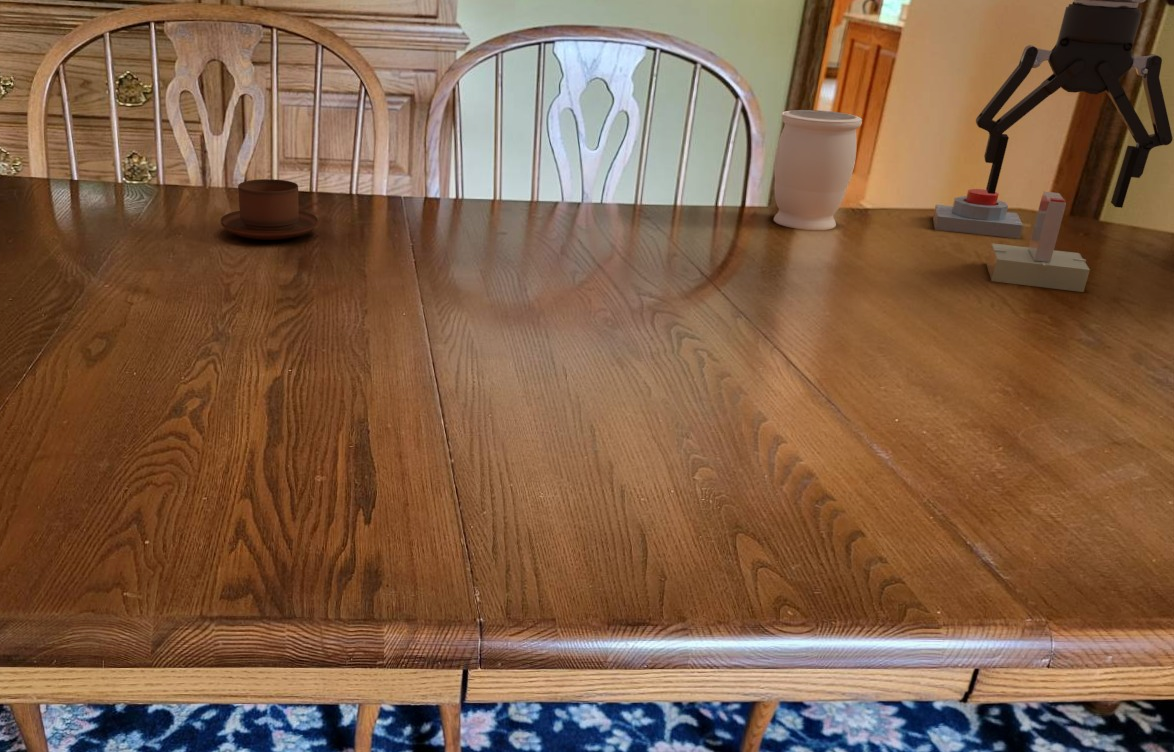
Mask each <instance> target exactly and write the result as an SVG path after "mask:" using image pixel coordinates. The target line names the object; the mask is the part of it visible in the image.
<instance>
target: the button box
mask: <svg viewBox="0 0 1174 752" xmlns="http://www.w3.org/2000/svg"><path fill="white" fill-rule="evenodd" d="M966 197H967V195H966V196H965V195H964V196H963V195H961V196H957V197H954V199H953V203H952V205H943V204H935V206H934V210H933V215H932V221H933V227H934V230H936V231H945V232H953V233H962V234H970V235H971V234H973V235H980V236H982V235H983V236H988V237H989V236H990V237H1001V238H1008V239H1017V240H1020V239H1021V235H1022V232H1023V227H1024V224H1023V222H1022V220H1021V218H1020V216H1019V214H1018V213H1017V212H1011V211H1008V207H1009V205H1008V203H1007V202H1005V201H1003V200H999V199H997V203H996V205H988V206H986V205H977V204H972V203H968V202H966Z"/></svg>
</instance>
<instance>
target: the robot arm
mask: <svg viewBox="0 0 1174 752" xmlns="http://www.w3.org/2000/svg"><path fill="white" fill-rule="evenodd" d="M1144 2H1146V0H1073V2H1071V3H1069V4H1068V6H1066V7H1065V10H1064V14H1063V17H1062V22H1061V25H1060V29H1059V33H1058V37H1057V41H1056V44H1055V45H1054V47H1053V48H1052V49H1051V50H1049V49H1044V48H1038V47H1037V46H1034V45H1032V44H1029V45H1027V46H1026V47H1024V49H1023V51H1022V53H1021V57H1020V60H1019V63H1018V65H1017V66H1016V67H1015V69H1014V70H1013V71H1012V72H1011V74H1010V75H1009V76H1008V77H1007V79H1006V80H1005V81H1004V83H1002V85H1001V87H999V89H998V90H997V91H996V93H995V94H994V95H993V97H992V98H991V99H990V100H989V101H988V103H987V104H986V105H985V107H984V108H983V109H982V111H980V113H979V114H978V115H977V117H976V118H975V124H976V126H977V128H978V129H979V128H980V129H982V130H985V131H986V132H988V139H987V143H986V148H985V150H984V155H983V158H984V162H985V163H987V164H991V168H990V171H989V176H988V179H987V185H986V187H985V190H987V192H988V193H990V194H995V192H997V187H998V183H999V179H1000V175H1001V170H1002V166H1003V162H1004V160H1005V159H1004V158H1005V155H1006V150H1007V147H1008V143H1009V140H1010V139H1009V138H1010V137H1009V136H1008V134H1007V133H1005V132H1006V131H1007V130H1009V129H1010V128H1011V127H1013V126H1014V125H1015V124H1016V123H1017V122H1018V121H1020V120H1022V118H1024V117H1025V116H1026V115H1027V114H1028V113H1030V112H1031V111H1032V110H1034V109H1035V108H1036V107H1037V106H1038V105H1040V104H1041V103H1042V102H1043V101H1044V100H1046V99H1047V98H1048V97H1049V96H1051V95H1053V94H1054V93H1056V92H1057V91H1058V90H1059V89H1062V90H1063V91H1065V92H1067V93H1074V94H1075V93H1081V92H1084V93H1087V94H1089V95H1099V94H1102V93H1104V92H1106V94H1107V96H1108V97H1109V98H1110V100H1111V101H1112V103H1113V105H1114V107H1115V108H1116V110H1117V113H1118V114H1119V116H1120V117H1121V119H1122V121H1123V122H1124V124H1125V126H1126V128H1127V129H1128V131H1129V133H1130V135H1131V137H1132V138H1133V140H1134V142H1135V143H1136V144H1135V146H1134V145H1127V146H1126V150H1125V153H1124V157H1123V159H1122V163H1121V167H1120V170H1119V173H1118V177H1117V180H1116V184H1115V187H1114V190H1113V194H1112V197H1111V201H1110V203H1111V204H1112V206H1113V207H1114V208H1120V209H1122V208H1123V207H1124V203H1125V200H1126V197H1127V193H1128V190H1129V186H1130V183H1131V180H1132V178H1135V179H1140V178H1141V177H1142V175H1143V174H1144V171H1145V167H1146V164H1147V161H1148V159H1149V154H1150V152H1151V150H1153V149H1154V148H1156V147H1157V148H1158V147H1162V146H1168V145H1170V144H1172V142H1173V134H1172V129H1171V124H1170V120H1169V116H1168V111H1167V107H1166V103H1165V98H1164V94H1163V89H1162V84H1161V79H1160V75H1161V69H1162V64H1163V59H1162V57H1161V56H1159V55H1158V54H1155V53H1150V54H1148V55H1141V56H1134V55H1133V48H1134V43H1135V40H1136V37H1137V33H1138V29H1139V26H1140V22H1141V20H1142V15H1143V11H1142V9H1141V8H1138V7H1139V4H1141V3H1144ZM1045 61H1047V63H1048V64H1049V67H1050V69H1051V71H1052V74H1051V75H1049V76H1048V77H1047V78H1046V79H1044V80H1043V81H1042V82H1041V83H1040V84H1039V85H1038V86H1037V87H1036V88H1035V89H1033V90H1031V92H1030V93H1028V94H1027V95H1026V96H1025V97H1024V98H1022V99H1021V100H1019V102H1018V103H1016V104H1015V105H1014V106H1012V107H1011V108H1010V109H1009V110H1008V111H1007V112H1005V113H1004V114H1003V115H1001V116H1000V117H998V119H997V120H994V118H995V117H996V116H997V114H998V113H999V112H1000V110H1002V108H1003V107H1004V106H1005V105H1006V103H1007V102H1008V101H1009V99H1010V98H1011V97H1012V96H1013V95H1014V93H1015V92H1016V90H1017V89H1018V88H1019V87H1020V86H1021V85H1022V84H1023V82H1024V81H1025V79H1026V78H1027V77H1028V75H1029V74H1030V72H1031V71H1032V69H1037V68H1039V67H1040V66H1041V65H1042V63H1044V62H1045ZM1132 68H1135V71H1136V74H1137V75H1138V76H1140V77H1142V86H1143V90H1144V94H1145V97H1146V102H1147V106H1148V111H1149V116H1150V120H1151V125H1152V129H1153V133H1150V134H1149V132H1148V131H1147V129H1146V127H1145V126H1144V124H1143V122H1142V120H1141V119H1140V116H1139V115H1138V113H1137V112H1136V109H1135V108H1134V106H1133V105H1132V103H1131V101H1130V99H1129V98H1128V96H1127V94H1126V91H1125V89H1124V88H1123V86H1122V84H1121V81H1119V80H1120V79H1121V78H1122V77H1123V76H1124V75H1125V74H1126V73H1127V72H1128V71H1130V70H1131V69H1132Z"/></svg>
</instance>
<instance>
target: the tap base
mask: <svg viewBox="0 0 1174 752" xmlns="http://www.w3.org/2000/svg"><path fill="white" fill-rule="evenodd" d="M1086 262H1087V259H1085V258H1083V257H1082V255H1081V253H1080V252H1073V251H1063V250H1056V249H1054V251H1053V255H1052V259H1051V262H1042V261H1034V259H1033V257H1032V255H1031V253H1030V251H1029V246H1019V245H1009V244H1000V243H991V245H990V249H989V253H988V256H987V261H986V268H987V270H988V274H989V277H990V280H991V282H996V283H1004V284H1013V285H1021V286H1022V285H1023V286H1030V287H1038V288H1045V289H1055V290H1063V291H1070V292H1071V291H1072V292H1080V293H1084V292H1085V288H1086V285H1087V282H1088V278H1089V274H1090V271H1091V269H1090V268H1089V266H1088V264H1087V263H1086Z"/></svg>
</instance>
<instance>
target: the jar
mask: <svg viewBox="0 0 1174 752" xmlns="http://www.w3.org/2000/svg"><path fill="white" fill-rule="evenodd" d="M781 121H782V122H783V124H784V126H783V128H782V131H781V134H780V135H779V140H778V142H777V147H776V151H775V157H774V167H773V168H774V171H773V173H774V199H775V203H776V206H777V208H778V211H777V213H776V214H775V215H774V216H773V222H774V223H775V224H777V225H780V226H782V227H786V228H791V229H795V230H796V229H798V230H804V231H826V230H827V231H828V230H831V229H834V228H836V227H837V222H836V220H835V218H834V215H835V214H836V213H837V212H838V210H839V209H840V207H841V205H842V204H843V200H844V199H845V196H846V194H847V190H848V187H849V184H850V182H851V179H852V177H853V173H854V170H855V169H854V168H855V164H856V159H857V150H858V149H857V147H858V146H857V145H858V144H857V143H858V140H857V129H859V128H860V127H861V126H862V123H863V118H862V117H860V116H857V115H854V114H849V113H844V112H838V111H832V110H831V111H830V110H818V109H797V110H796V109H795V110H794V109H793V110H786V111H783V112H782V115H781Z"/></svg>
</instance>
